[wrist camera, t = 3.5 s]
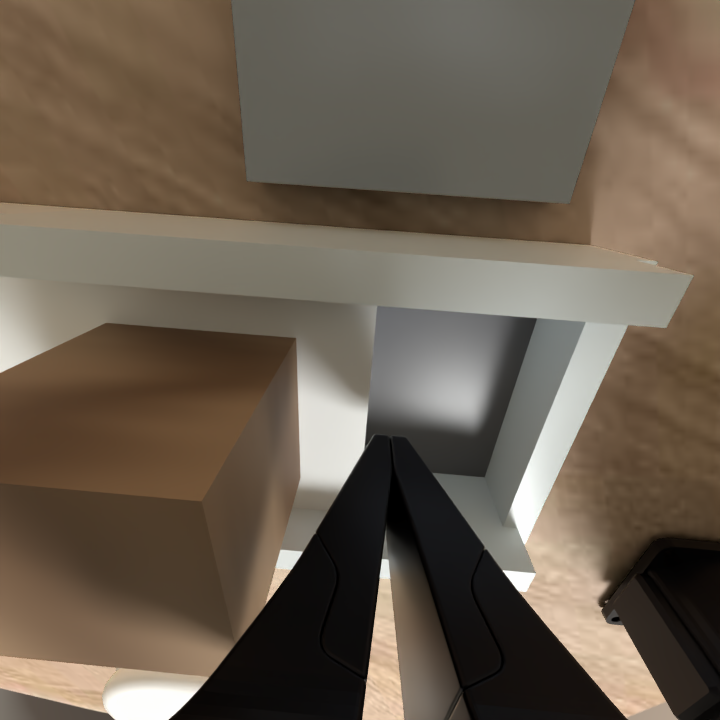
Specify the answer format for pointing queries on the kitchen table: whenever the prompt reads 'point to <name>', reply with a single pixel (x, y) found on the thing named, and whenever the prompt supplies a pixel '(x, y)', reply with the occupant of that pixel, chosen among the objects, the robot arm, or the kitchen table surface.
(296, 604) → the robot arm
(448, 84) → the pad
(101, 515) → the block
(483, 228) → the kitchen table surface
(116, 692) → the white short cylinder
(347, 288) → the channel
